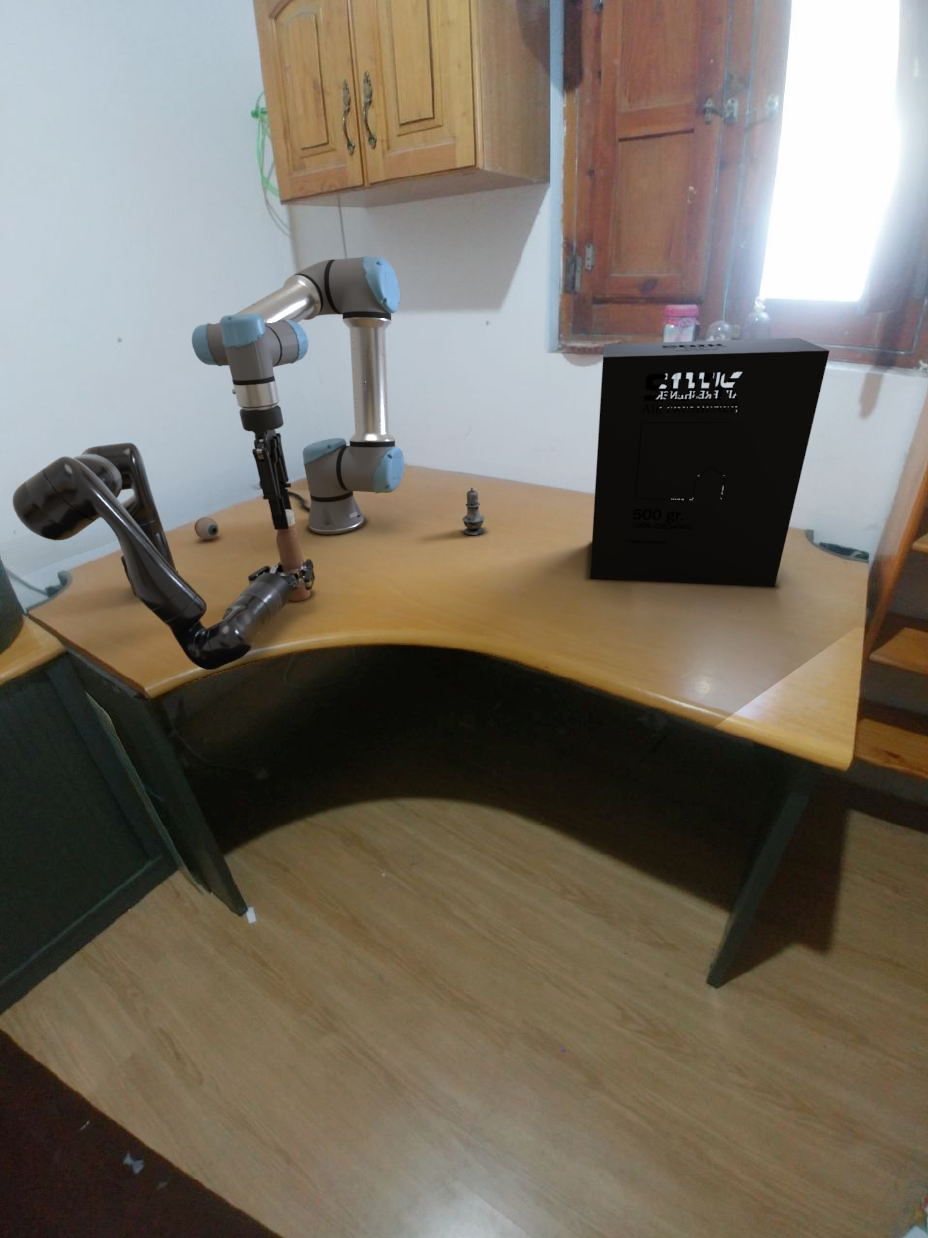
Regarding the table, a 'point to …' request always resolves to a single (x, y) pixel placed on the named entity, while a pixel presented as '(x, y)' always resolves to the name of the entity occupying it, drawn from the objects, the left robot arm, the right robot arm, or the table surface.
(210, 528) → the eyeball
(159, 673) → the table surface
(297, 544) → the bottle
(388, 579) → the table surface
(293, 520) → the cap
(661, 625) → the table surface
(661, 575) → the cardboard box
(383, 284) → the right robot arm
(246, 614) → the left robot arm
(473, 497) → the salt shaker
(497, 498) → the table surface
